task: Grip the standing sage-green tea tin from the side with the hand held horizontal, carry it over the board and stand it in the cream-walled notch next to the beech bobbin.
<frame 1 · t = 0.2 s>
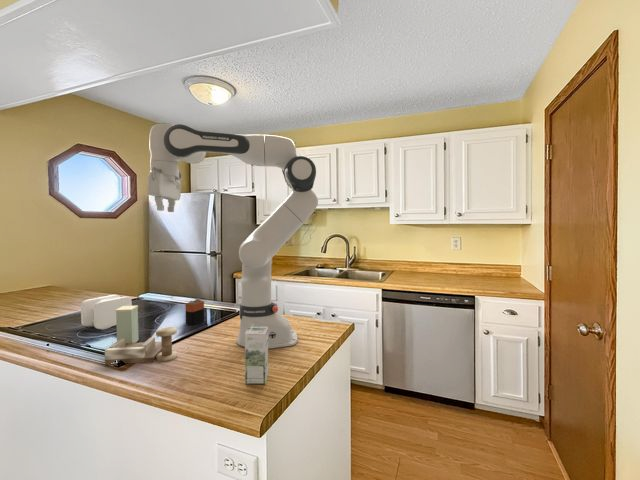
hand: (166, 211, 107), 48 cm above the worktop, tool pointing down, fingers open, 8 cm apart
winding board: (138, 354, 102), on the worktop
bobbin: (166, 357, 100), on the worktop
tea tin: (128, 343, 111), on the worktop
battery: (195, 322, 135), on the worktop
syrup box: (257, 380, 86), on the worktop
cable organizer: (107, 325, 130), on the worktop
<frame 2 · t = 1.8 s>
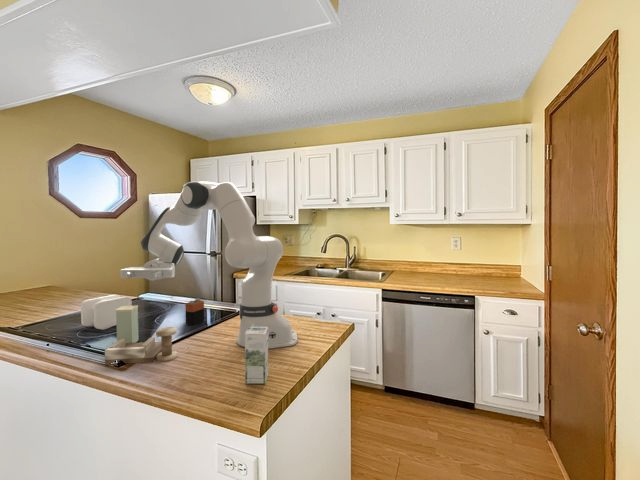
hand: (140, 276, 122), 22 cm above the worktop, tool horizontal, fingers open, 8 cm apart
nothing on the worktop moved.
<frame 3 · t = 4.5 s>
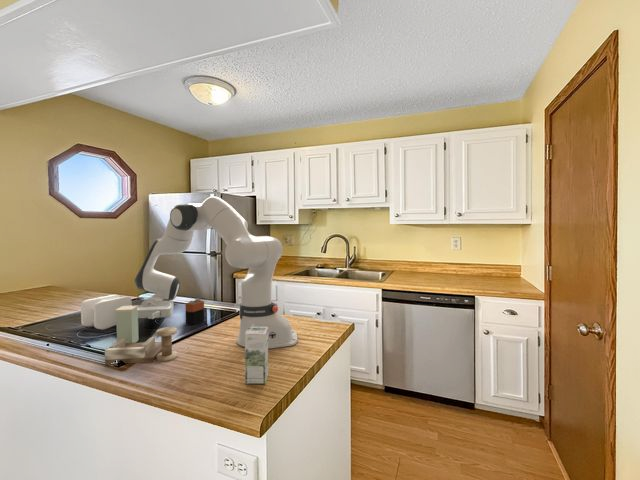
hand: (138, 317, 119), 7 cm above the worktop, tool horizontal, fingers open, 8 cm apart
nothing on the worktop moved.
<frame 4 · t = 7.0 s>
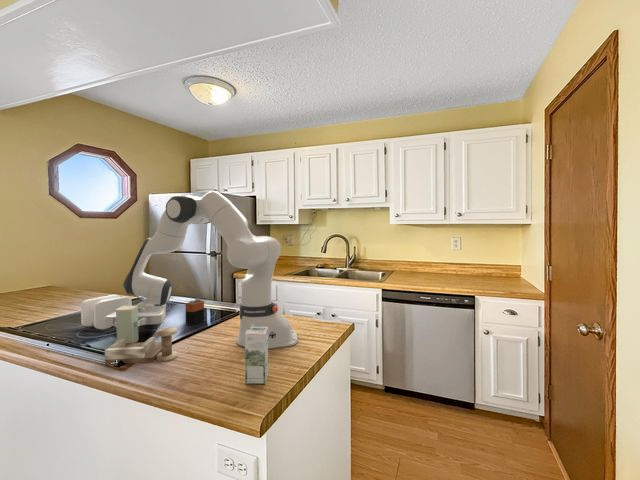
hand: (126, 324, 110), 7 cm above the worktop, tool horizontal, fingers closed on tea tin, 5 cm apart
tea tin: (128, 343, 111), on the worktop, touching gripper
everything else where it was.
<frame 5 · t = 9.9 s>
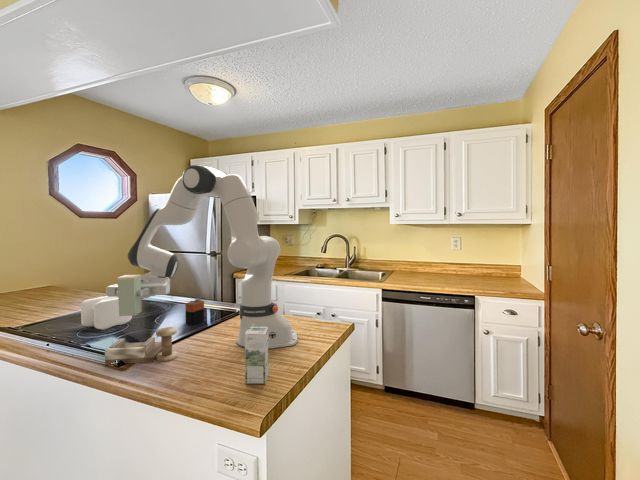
hand: (128, 294, 104), 19 cm above the worktop, tool horizontal, fingers closed on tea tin, 5 cm apart
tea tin: (130, 313, 106), point 12 cm above the worktop, touching gripper
everything else where it was.
when the fingers open (10 cm above the worktop, at t = 12.7 s): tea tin drops 1 cm, resting on winding board.
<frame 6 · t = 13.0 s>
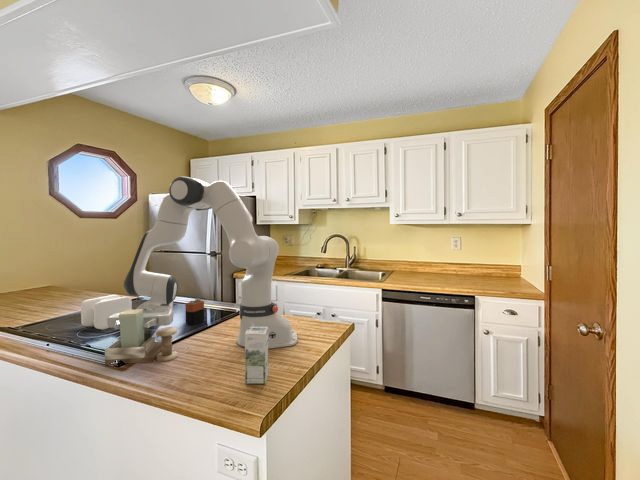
hand: (131, 326, 100), 10 cm above the worktop, tool horizontal, fingers open, 7 cm apart
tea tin: (133, 350, 101), point 2 cm above the worktop, touching winding board
everything else where it was.
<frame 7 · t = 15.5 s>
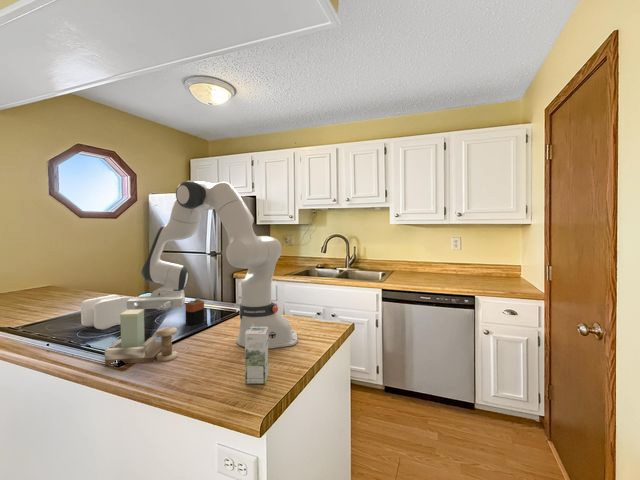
hand: (148, 307, 113), 13 cm above the worktop, tool horizontal, fingers open, 8 cm apart
nothing on the worktop moved.
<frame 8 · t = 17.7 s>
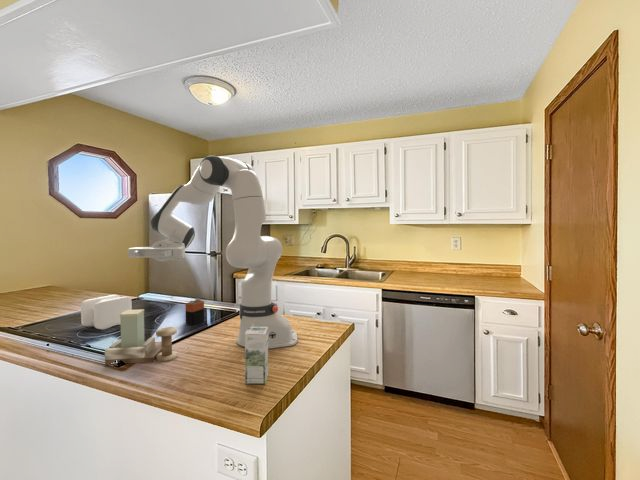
hand: (149, 254, 114), 32 cm above the worktop, tool horizontal, fingers open, 8 cm apart
nothing on the worktop moved.
at the end: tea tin inside the target area (0.2 cm from its centre), point 1.5 cm above the worktop; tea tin tilted 0°; the gripper is holding nothing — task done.
